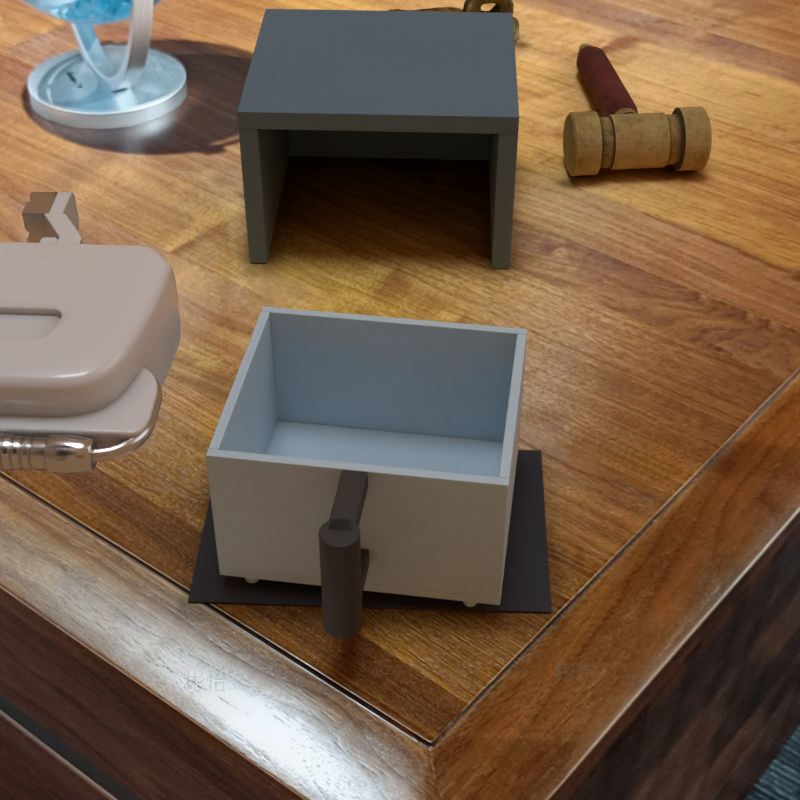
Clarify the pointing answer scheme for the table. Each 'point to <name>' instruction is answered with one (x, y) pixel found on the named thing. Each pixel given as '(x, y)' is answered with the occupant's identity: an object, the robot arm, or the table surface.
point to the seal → (479, 9)
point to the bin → (369, 458)
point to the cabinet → (379, 101)
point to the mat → (519, 594)
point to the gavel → (629, 127)
